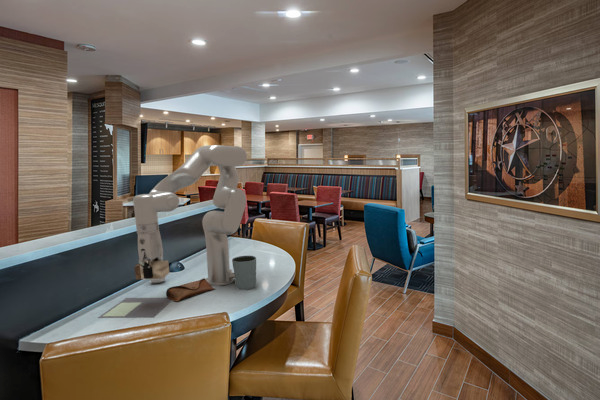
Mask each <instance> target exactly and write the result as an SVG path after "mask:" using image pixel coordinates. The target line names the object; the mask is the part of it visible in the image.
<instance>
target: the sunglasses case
mask: <svg viewBox="0 0 600 400" xmlns="http://www.w3.org/2000/svg"><path fill="white" fill-rule="evenodd" d="M214 290H215V288H214V287H213V286H211V285H210V284H209V283H208V282H207V281H206V278H201V279H198V280H195V281H191V282H187V283H184V284H179V285H175V286H171V287H168V288H167V289H166V292H165V295H166V297H167V298H168V299H170V300H172V301H171V302H180V301H183V300H186V299H189V298H192V297H196V296H200V295H203V294H205V293H208V292H213V291H214Z"/></svg>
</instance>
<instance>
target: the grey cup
mask: <svg viewBox="0 0 600 400" xmlns="http://www.w3.org/2000/svg"><path fill="white" fill-rule="evenodd" d="M231 262H232V268H233V269H232V270H233V273H234V276H235V278H234V282H235V283H234V284H235V288H236V289H237V290H244V291H245V289H246V290H251V288H252V289H254V288H256V286H257V257H256V256H254V255H241V256H235V257H233V258H232V259H231Z"/></svg>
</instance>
